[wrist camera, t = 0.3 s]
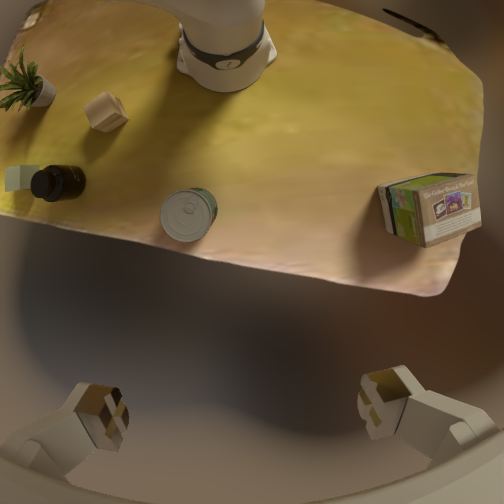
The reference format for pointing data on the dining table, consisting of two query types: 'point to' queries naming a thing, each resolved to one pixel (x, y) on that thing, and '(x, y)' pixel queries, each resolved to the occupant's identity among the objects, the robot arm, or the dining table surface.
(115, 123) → the oak block
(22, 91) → the house plant
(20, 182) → the sage block
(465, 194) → the tea box
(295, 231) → the dining table surface
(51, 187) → the supplement bottle
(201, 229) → the canned tomato
